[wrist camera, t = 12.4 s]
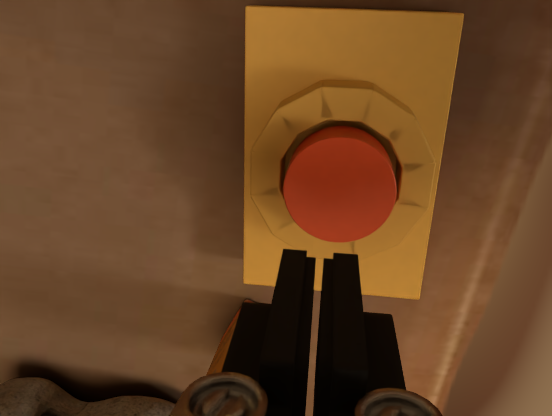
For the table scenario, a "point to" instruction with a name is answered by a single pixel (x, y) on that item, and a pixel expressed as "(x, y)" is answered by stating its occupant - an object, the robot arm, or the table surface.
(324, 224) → the red push button
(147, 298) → the table surface
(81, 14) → the table surface
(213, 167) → the table surface
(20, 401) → the stone
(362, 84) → the button block
